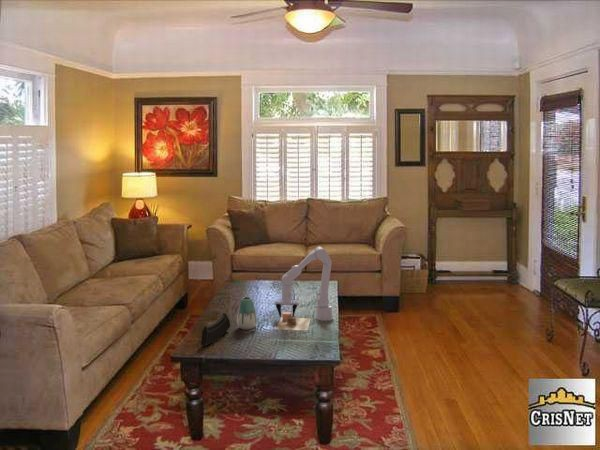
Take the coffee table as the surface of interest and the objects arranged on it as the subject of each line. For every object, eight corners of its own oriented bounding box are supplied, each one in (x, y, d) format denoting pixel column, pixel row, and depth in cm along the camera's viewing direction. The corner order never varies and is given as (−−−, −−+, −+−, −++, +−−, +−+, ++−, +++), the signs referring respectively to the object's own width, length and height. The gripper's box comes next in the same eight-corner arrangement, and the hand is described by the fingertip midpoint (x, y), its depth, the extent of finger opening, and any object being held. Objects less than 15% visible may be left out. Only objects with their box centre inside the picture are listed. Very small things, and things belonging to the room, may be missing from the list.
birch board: (310, 319, 366) (310, 318, 366) (307, 332, 343) (307, 330, 342) (281, 319, 368) (281, 317, 368) (275, 331, 344) (275, 329, 344)
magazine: (203, 332, 313) (226, 302, 339) (198, 331, 314) (221, 301, 340) (208, 360, 320) (231, 328, 346) (203, 359, 321) (225, 327, 347)
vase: (254, 331, 343) (253, 300, 341) (234, 330, 346) (233, 299, 343) (259, 325, 355) (259, 295, 352) (240, 324, 357) (239, 294, 354)
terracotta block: (291, 318, 366) (291, 312, 365) (290, 320, 361) (290, 314, 361) (283, 318, 366) (283, 311, 366) (282, 320, 362) (282, 313, 361)
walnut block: (296, 323, 356) (296, 316, 356) (295, 325, 352) (295, 318, 351) (288, 322, 357) (288, 316, 356) (287, 325, 352) (287, 318, 352)
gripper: (273, 295, 358) (273, 318, 360) (298, 296, 357) (298, 319, 359) (275, 293, 365) (275, 315, 367) (299, 293, 364) (299, 315, 366)
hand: (286, 316), depth 363 cm, fingers open, 7 cm apart
